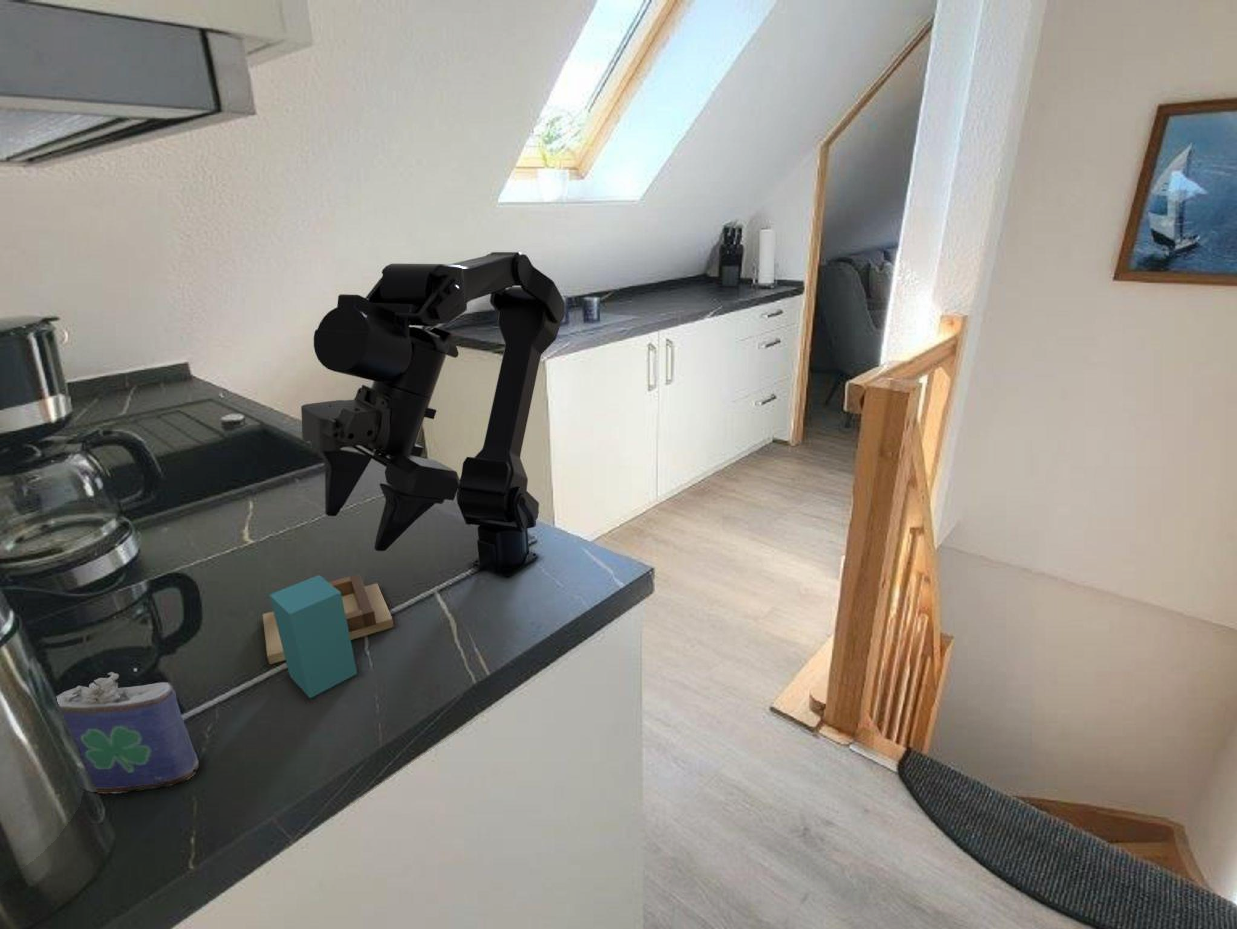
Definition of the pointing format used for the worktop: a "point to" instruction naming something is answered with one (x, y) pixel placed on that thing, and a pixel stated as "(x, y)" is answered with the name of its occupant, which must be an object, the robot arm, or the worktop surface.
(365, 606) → the socket pad
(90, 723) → the flask
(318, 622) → the teal rectangular block
